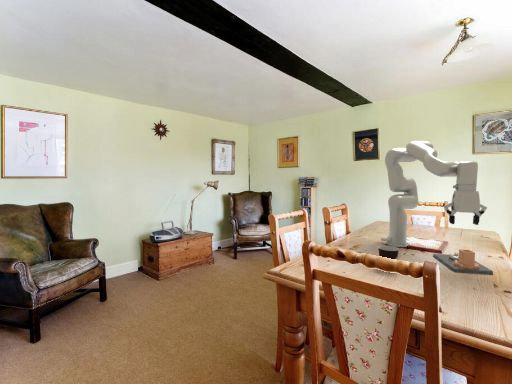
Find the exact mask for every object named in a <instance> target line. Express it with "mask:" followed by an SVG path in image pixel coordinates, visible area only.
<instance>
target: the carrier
mask: <svg viewBox="0 0 512 384" xmlns="http://www.w3.org/2000/svg"><path fill="white" fill-rule="evenodd" d="M432 256H433V258H435V259H436V260H437V261H438V262H440V263H441V264H443V265H444V266H445V267H447V268H448V269H450V270H451V271H452V272H454V273H463V274H464V273H465V274H477V275H478V274H481V275H491V276H493V275H494V271H493V270H492V269H491V268H488V267H487V266H485V265H483V264H481V263H480V262H478V261H476V260H475V263H476V264H479V266H480V269H476V268H474V269H469V268H461V267H460V266H457V265H454V260H455V261H459V252H454V254H451V253H450V254H449V253H448V254H446V253H445V254H444V253H443V254H442V253H433V255H432Z"/></svg>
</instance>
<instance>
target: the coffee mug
mask: <svg viewBox="0 0 512 384" xmlns="http://www.w3.org/2000/svg"><path fill="white" fill-rule="evenodd" d="M399 250H400V249H399V247H394V246H390V245H379V246H378V257H379V256H382V257H387V258H391V259H397V260H398V256H399Z"/></svg>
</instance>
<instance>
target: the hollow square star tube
mask: <svg viewBox="0 0 512 384" xmlns="http://www.w3.org/2000/svg"><path fill="white" fill-rule="evenodd" d="M458 253H459V254H458V255H459V261H455V260H454V265H457V266H460V267H461V268H469V269H474V268H476V269H480V266H479V264H476V263H475V261H476V252H475V251H473V250H471V249H462V248H461V249H459V250H458Z"/></svg>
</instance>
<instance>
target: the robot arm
mask: <svg viewBox="0 0 512 384" xmlns="http://www.w3.org/2000/svg"><path fill="white" fill-rule="evenodd" d="M437 157H438V151H437V150H436V149H434V145H433V143H431V142H430V141H428V140H427V141H425V140H414V141H410V142H408V143H407V144H406V145H405V147H395V148H391V149H389V150H387V152H386V154H385V157H384V162H385V163H384V164H385V167H386V170H387V176H388V177H387V178H388V186H389V190H390V192H392V193H397V194H393V195H391V196H390V197H389V198H388V201H387V204H388V209H389V228H388V229H389V232H388V236H386V237H380V241H383V242H385V243H386V246H393V247H396V248H407V246H408V245H409V246H410V244H409V243H408V242H407V236H408V234H407V230H408V228H407V227H408V216H407V213H406V211H405V210H414V209H415V208H417V207H418V205H419V194H418V187H417V182H416V180H415V179H414V178H413V177H409V176H404V170H403V168H402V166H401V165H400V163H412V162H416V161H419V162H420V163H422V165H423V167H424V168H425V170H426V171H428V172H430V173H431V174H433V175H434V176H437V177H440V178H441V177H442V178H444V177H445V178H446V177H456V181H455V182H456V183H455V185H454V184H453V185H452V188H453V189H454V190H453V194H452V197H451V201H450V202H449V203H447V204H445V205H443V206H442V207H443V209H444V211H445V212H446V213H447V215H448V222H449V224H450V225H451V224H452V225H455V222H456V221H455V220H456V216H455V214H456V213H467V214H469V213H472V214H473V216H472V217H473V218H472V224H473V225H476V226H479V223H480V217H482V215H483V214H485V212H486V211H487V209H488V207H487V206H485V205H483V204H481V199H480V192H479V191H478V190H477V186H478V185H477V183H478V171H479V163H478V161H474V160H473V161H471V160H469V161H459V160H458V161H455V160H452V161H451V160H448V161H447V160H445V161H444V160H441V159H439V158H437ZM398 193H399V194H398ZM449 208H451V209H449ZM409 246H408V247H409Z"/></svg>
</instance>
